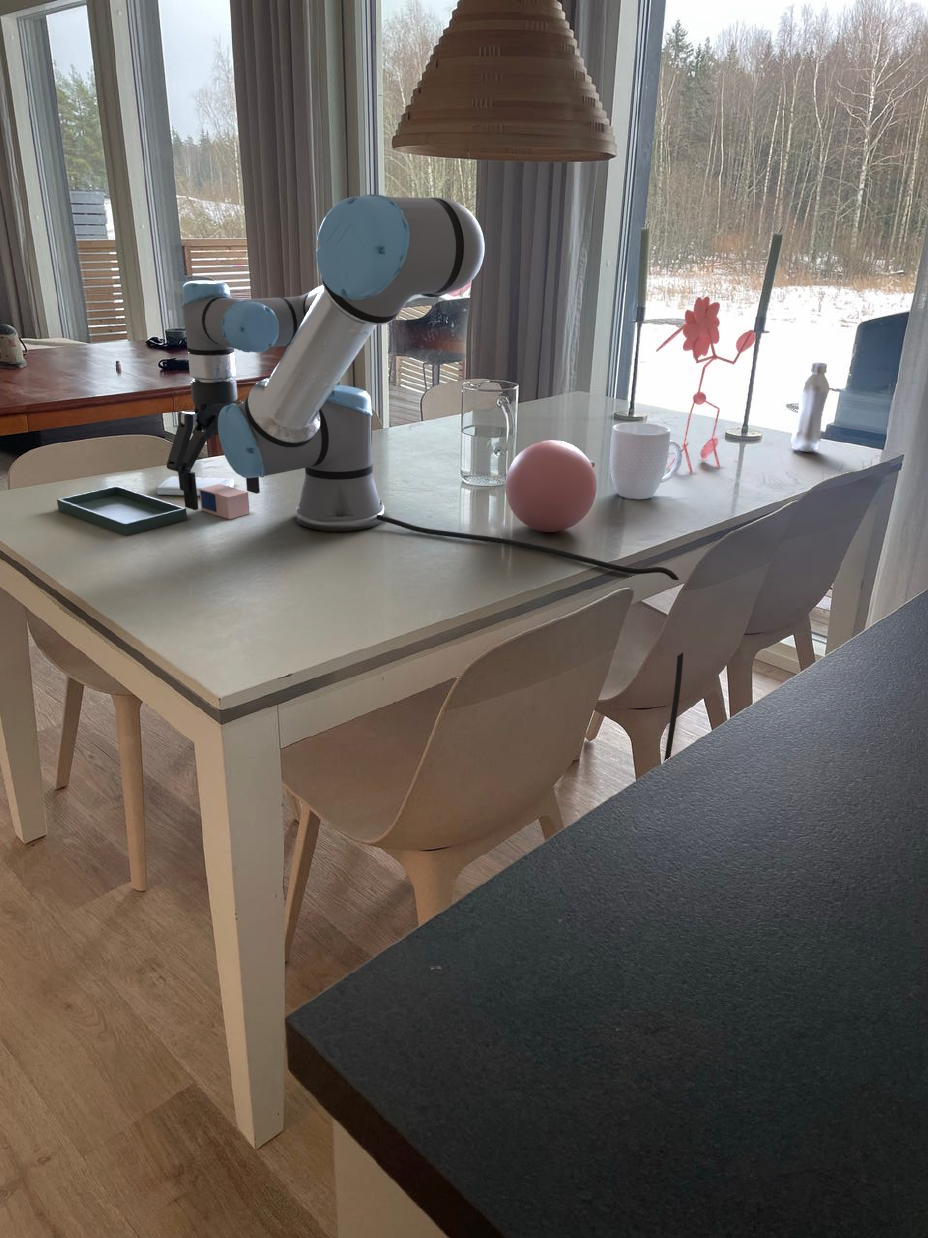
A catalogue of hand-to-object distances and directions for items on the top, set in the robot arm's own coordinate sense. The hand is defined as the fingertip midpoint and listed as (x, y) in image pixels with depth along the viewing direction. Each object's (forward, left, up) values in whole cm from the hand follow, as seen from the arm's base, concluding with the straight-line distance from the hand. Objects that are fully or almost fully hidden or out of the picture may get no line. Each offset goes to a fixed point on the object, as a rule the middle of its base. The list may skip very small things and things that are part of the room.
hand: (223, 500), depth 165 cm
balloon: (-49, -33, -2) cm, 59 cm away
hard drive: (+15, -5, -2) cm, 16 cm away
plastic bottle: (-61, -120, -2) cm, 135 cm away
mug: (-50, -61, -2) cm, 79 cm away
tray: (+12, +13, -2) cm, 18 cm away
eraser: (0, 0, -2) cm, 2 cm away
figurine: (-45, -89, -2) cm, 100 cm away
